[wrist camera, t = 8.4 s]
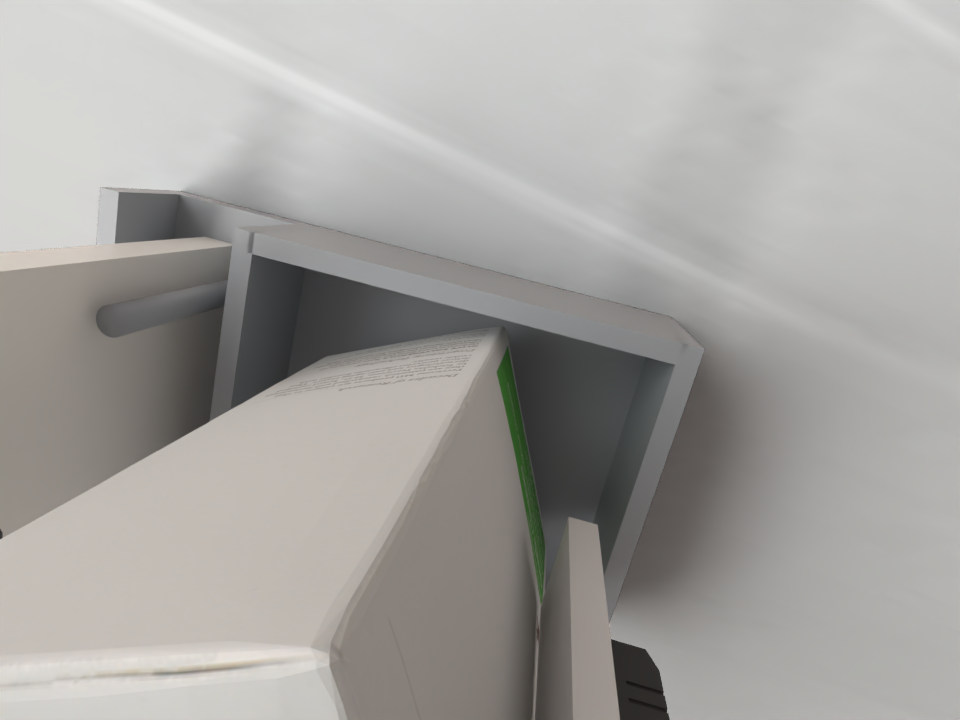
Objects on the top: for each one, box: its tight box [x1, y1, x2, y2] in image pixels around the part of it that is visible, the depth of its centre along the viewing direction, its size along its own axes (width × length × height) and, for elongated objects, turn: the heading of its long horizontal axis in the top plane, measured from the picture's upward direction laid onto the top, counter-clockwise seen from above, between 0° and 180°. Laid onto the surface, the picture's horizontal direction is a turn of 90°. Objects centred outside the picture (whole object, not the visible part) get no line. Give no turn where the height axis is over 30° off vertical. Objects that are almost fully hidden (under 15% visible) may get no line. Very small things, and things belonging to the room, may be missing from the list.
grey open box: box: [0, 187, 705, 623], centre depth 17 cm, size 18×12×12 cm, turn 76°
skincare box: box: [0, 326, 547, 720], centre depth 13 cm, size 8×7×16 cm
